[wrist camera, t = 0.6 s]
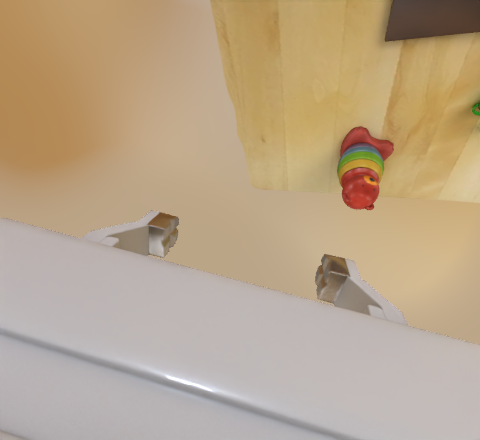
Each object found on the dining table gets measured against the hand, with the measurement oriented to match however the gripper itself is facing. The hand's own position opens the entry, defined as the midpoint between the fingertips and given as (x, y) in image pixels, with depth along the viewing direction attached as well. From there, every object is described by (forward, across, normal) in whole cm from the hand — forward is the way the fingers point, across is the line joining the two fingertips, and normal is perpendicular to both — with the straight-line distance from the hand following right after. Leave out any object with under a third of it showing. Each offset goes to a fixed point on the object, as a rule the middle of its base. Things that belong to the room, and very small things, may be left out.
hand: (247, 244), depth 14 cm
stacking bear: (+54, -20, +1) cm, 57 cm away
